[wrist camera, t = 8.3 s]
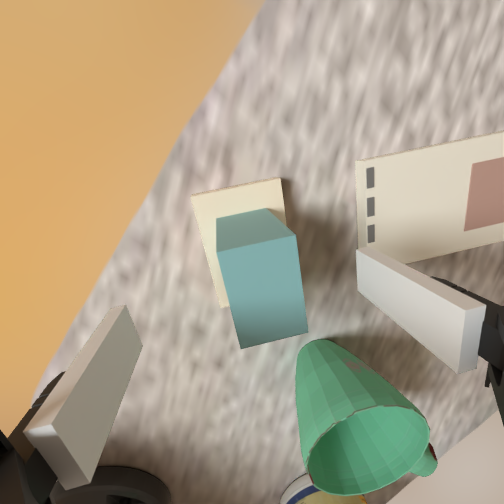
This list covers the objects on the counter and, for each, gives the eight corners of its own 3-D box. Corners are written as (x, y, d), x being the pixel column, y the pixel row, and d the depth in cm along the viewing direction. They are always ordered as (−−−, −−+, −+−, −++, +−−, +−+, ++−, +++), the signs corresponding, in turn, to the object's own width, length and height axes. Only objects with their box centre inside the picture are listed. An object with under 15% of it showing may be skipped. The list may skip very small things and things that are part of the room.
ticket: (358, 266, 25) (367, 273, 23) (355, 160, 21) (365, 160, 20) (523, 228, 26) (542, 232, 24) (546, 121, 22) (570, 118, 21)
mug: (257, 373, 27) (279, 481, 18) (310, 304, 25) (366, 387, 16) (352, 412, 32) (408, 516, 22) (404, 356, 30) (490, 445, 20)
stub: (220, 299, 24) (222, 381, 15) (192, 194, 20) (173, 219, 11) (291, 283, 24) (335, 352, 15) (275, 177, 21) (321, 187, 12)
